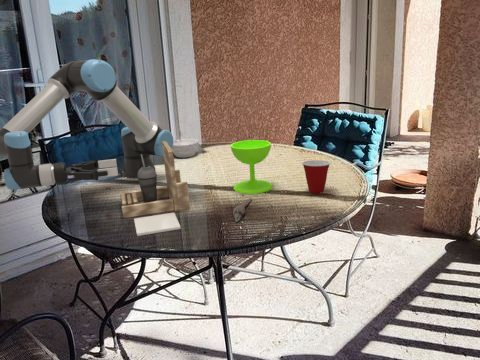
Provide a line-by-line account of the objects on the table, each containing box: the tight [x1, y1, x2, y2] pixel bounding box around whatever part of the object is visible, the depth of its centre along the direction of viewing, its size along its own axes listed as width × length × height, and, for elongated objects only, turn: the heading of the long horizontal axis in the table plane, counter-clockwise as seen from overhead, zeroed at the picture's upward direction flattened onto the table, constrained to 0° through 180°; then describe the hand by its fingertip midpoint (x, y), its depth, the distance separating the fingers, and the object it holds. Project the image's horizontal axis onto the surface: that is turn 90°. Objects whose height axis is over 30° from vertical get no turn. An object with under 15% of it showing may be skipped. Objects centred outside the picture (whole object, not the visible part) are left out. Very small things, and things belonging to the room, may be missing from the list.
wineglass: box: [230, 139, 274, 195], centre depth 184 cm, size 16×16×18 cm
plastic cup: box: [301, 159, 332, 195], centre depth 175 cm, size 11×11×12 cm
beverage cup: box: [136, 154, 158, 203], centre depth 170 cm, size 7×7×20 cm
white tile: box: [133, 212, 182, 237], centre depth 154 cm, size 14×14×1 cm
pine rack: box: [119, 141, 191, 219], centre depth 170 cm, size 24×20×22 cm
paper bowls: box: [172, 138, 200, 159], centre depth 246 cm, size 15×15×8 cm
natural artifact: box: [232, 197, 253, 223], centre depth 161 cm, size 4×23×4 cm
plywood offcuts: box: [121, 191, 139, 206], centre depth 170 cm, size 5×12×4 cm, turn 16°
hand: (117, 166), depth 165 cm, fingers open, 13 cm apart
